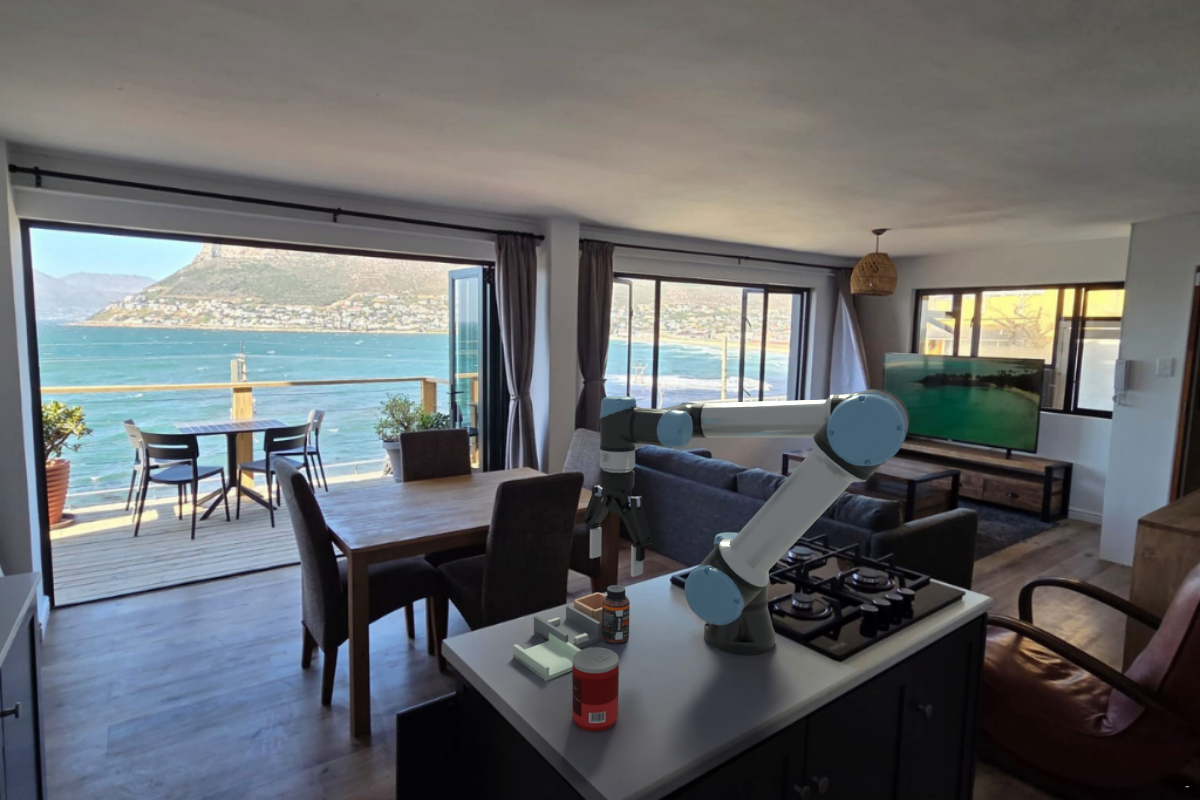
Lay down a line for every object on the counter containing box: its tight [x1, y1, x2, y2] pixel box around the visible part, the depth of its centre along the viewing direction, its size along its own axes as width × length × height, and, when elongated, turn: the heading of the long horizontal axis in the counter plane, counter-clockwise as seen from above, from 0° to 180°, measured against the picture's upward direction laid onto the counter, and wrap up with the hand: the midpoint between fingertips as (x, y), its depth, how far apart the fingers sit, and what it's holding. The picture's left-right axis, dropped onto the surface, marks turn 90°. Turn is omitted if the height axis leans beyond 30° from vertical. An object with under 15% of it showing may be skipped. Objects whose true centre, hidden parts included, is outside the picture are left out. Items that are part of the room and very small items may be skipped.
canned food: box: [571, 647, 620, 732], centre depth 108 cm, size 8×8×11 cm
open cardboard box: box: [573, 591, 607, 630], centre depth 146 cm, size 8×8×5 cm
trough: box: [512, 633, 582, 682], centre depth 127 cm, size 12×10×3 cm
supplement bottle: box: [601, 584, 631, 644], centre depth 137 cm, size 6×6×11 cm
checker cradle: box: [533, 604, 602, 650], centre depth 138 cm, size 12×10×4 cm
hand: (615, 565), depth 136 cm, fingers open, 13 cm apart
